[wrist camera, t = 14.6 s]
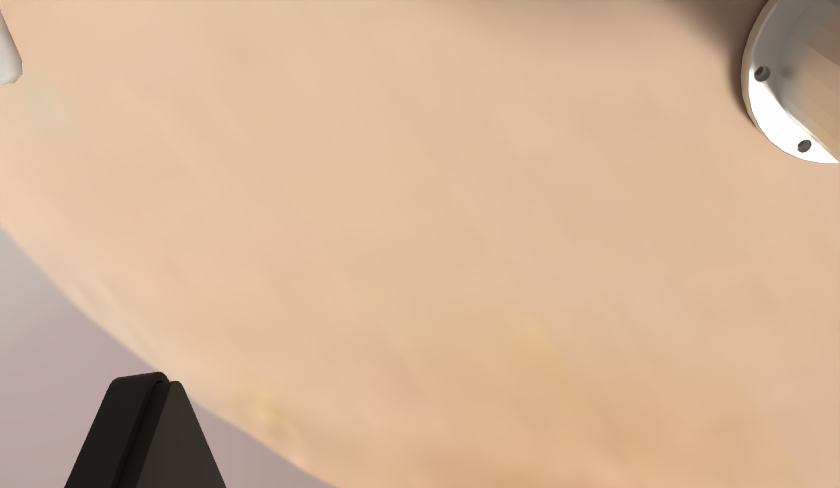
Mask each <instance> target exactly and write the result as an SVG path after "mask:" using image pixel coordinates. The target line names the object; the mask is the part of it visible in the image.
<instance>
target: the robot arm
mask: <svg viewBox="0 0 840 488" xmlns="http://www.w3.org/2000/svg"><path fill="white" fill-rule="evenodd" d="M759 67H760V68H759ZM758 68H759V70H758V71H757V72H755V71H756V70H757V69H758ZM741 88H742V97H743V100H744V103H745V106H746V109H747V112H748V114H749V116H750V118H751V119H752V121H753V123H754V124H755V126H756V127H757V129H758V130H759V131H760V132H761V133H762V134H763V135H764V136H765V137H766V138H767V139H768V140H769V141H770V142H771V143H772V144H774V145H775V146H776V147H778V148H779V149H780V150H782V151H783V152H785V153H787V154H789V155H791V156H793V157H796V158H799V159H803V160H807V161H812V162H817V163H839V164H840V0H768V2H767V3H766V5H765V6H764V7H763V9H762V10H761V12H760V14H759V16H758V18H757V20H756V22H755V24H754V26H753V28H752V30H751V31H750V34H749V37H748V40H747V44H746V47H745V50H744V53H743V59H742V67H741ZM64 488H226V486H225V483H224V481H223V479H222V476H221V474H220V472H219V470H218V467H217V465H216V462H215V460H214V458H213V455H212V453H211V451H210V448H209V446H208V444H207V441H206V439H205V437H204V434H203V432H202V430H201V427H200V425H199V423H198V420H197V418H196V415H195V413H194V411H193V408H192V406H191V404H190V401H189V399H188V397H187V394H186V392H185V390H184V388H183V386H182V384H181V383H180V382H179V381H171V382H169V380H168V378H167V376H166V375H165V374H163V373H162V372H153V373H146V374H140V375H133V376H126V377H119V378H116V379H114V380H113V381H112V383H111V384H110V386H109V388H108V390H107V392H106V394H105V397H104V399H103V401H102V403H101V406H100V408H99V410H98V413H97V415H96V417H95V419H94V421H93V424H92V426H91V428H90V431H89V433H88V435H87V437H86V440H85V442H84V444H83V446H82V449H81V451H80V453H79V455H78V458H77V460H76V462H75V465H74V467H73V469H72V471H71V474H70V476H69V478H68V481H67V483H66V485H65V487H64Z"/></svg>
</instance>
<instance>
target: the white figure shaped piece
mask: <svg viewBox="0 0 840 488" xmlns="http://www.w3.org/2000/svg"><path fill="white" fill-rule="evenodd" d="M21 75H22V59H21V57H20V55H19V53H18V50H17V48H16V46H15V43H14V41H13V39H12V36H11V34H10V32H9V30H8V27H7V25H6V23H5V20H4V18H3V16H2V13H1V11H0V85H2V84H9V83H15V82H16V81H17V79H18V78H19V77H20V76H21Z"/></svg>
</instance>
